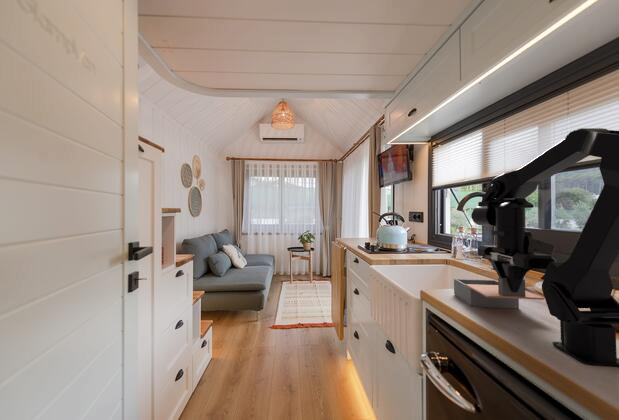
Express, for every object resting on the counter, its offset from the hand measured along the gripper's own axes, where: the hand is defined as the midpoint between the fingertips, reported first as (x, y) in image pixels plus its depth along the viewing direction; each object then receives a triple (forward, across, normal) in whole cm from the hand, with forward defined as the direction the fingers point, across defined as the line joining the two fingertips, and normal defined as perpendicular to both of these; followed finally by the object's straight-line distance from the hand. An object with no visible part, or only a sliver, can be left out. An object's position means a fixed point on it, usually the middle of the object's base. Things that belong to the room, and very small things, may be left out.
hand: (511, 291), depth 60 cm
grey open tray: (+6, +12, 0) cm, 14 cm away
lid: (+1, +4, 0) cm, 4 cm away
